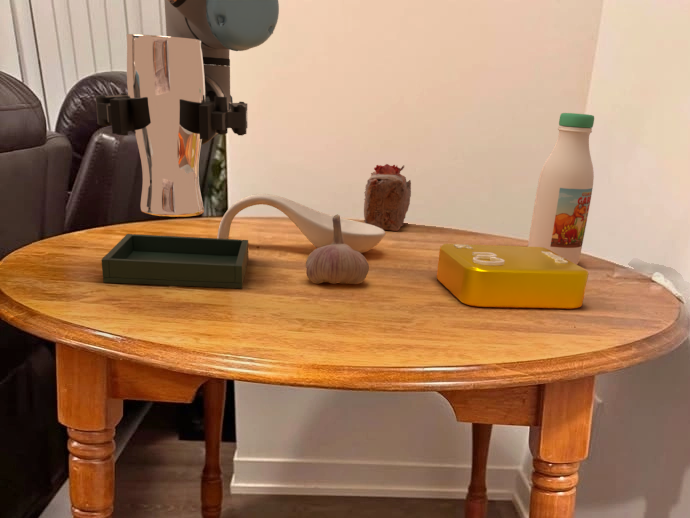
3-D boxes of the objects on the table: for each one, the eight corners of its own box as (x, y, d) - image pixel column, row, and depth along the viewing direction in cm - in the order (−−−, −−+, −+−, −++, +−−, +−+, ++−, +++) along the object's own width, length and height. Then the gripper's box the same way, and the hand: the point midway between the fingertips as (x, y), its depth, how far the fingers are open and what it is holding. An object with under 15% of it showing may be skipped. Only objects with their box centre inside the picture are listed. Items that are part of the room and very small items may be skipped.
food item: (364, 216, 142) (368, 158, 137) (408, 219, 142) (413, 161, 137) (360, 229, 130) (364, 166, 125) (408, 232, 130) (414, 169, 125)
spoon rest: (381, 246, 117) (384, 196, 114) (386, 263, 107) (391, 208, 104) (223, 237, 116) (222, 186, 112) (213, 253, 105) (212, 198, 102)
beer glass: (173, 220, 72) (164, 35, 65) (120, 210, 75) (106, 32, 68) (223, 213, 78) (220, 41, 71) (171, 203, 81) (164, 38, 74)
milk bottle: (526, 265, 112) (550, 112, 103) (524, 255, 119) (547, 110, 110) (580, 270, 111) (610, 116, 102) (576, 260, 118) (603, 115, 109)
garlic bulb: (295, 284, 93) (297, 214, 89) (320, 273, 99) (323, 207, 95) (354, 293, 91) (358, 222, 87) (376, 281, 97) (380, 215, 93)
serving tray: (103, 282, 88) (101, 259, 87) (128, 254, 102) (126, 233, 101) (242, 288, 90) (241, 266, 88) (248, 259, 103) (248, 239, 102)
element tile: (587, 310, 91) (596, 268, 89) (465, 307, 88) (470, 264, 86) (540, 279, 104) (547, 243, 102) (432, 276, 101) (436, 239, 99)
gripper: (277, 150, 91) (272, 172, 71) (104, 139, 89) (48, 158, 69) (278, 78, 88) (273, 79, 67) (98, 65, 86) (37, 63, 66)
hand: (159, 119), depth 68 cm, fingers closed on beer glass, 7 cm apart
